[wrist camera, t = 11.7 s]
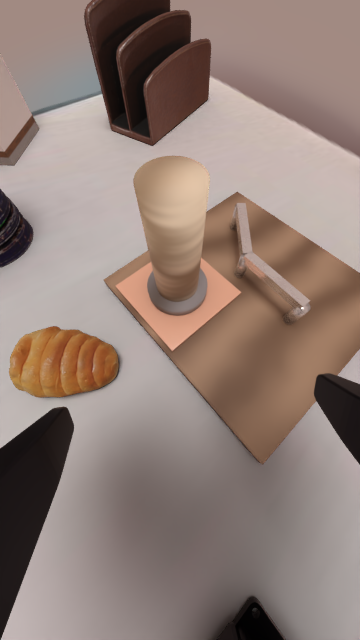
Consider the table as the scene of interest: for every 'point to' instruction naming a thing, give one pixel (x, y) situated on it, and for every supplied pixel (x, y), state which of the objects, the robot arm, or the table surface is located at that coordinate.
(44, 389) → the pastry
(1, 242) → the storage jar
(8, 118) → the grooved white pillar
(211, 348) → the board
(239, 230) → the bent metal bar
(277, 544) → the table surface
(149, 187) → the peg
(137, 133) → the letter holder
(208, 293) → the pad
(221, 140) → the table surface
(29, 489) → the robot arm
